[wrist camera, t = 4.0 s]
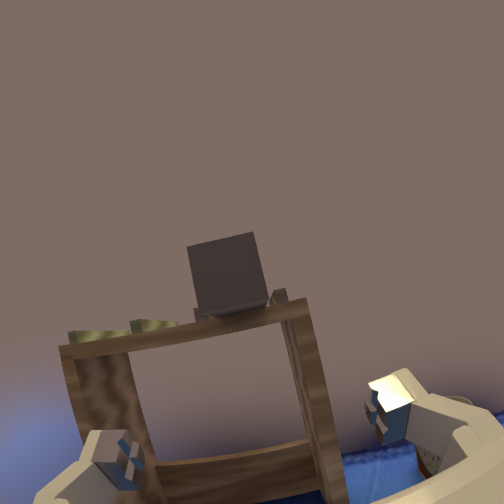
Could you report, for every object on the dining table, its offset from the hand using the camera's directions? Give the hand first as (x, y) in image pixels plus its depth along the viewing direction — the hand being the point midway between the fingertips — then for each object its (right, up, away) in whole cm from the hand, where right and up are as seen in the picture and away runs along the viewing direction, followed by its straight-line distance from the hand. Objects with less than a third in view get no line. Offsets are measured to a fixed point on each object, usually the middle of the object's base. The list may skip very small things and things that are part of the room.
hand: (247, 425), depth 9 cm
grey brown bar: (-1, 0, +20) cm, 20 cm away
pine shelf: (-1, -27, +18) cm, 33 cm away
